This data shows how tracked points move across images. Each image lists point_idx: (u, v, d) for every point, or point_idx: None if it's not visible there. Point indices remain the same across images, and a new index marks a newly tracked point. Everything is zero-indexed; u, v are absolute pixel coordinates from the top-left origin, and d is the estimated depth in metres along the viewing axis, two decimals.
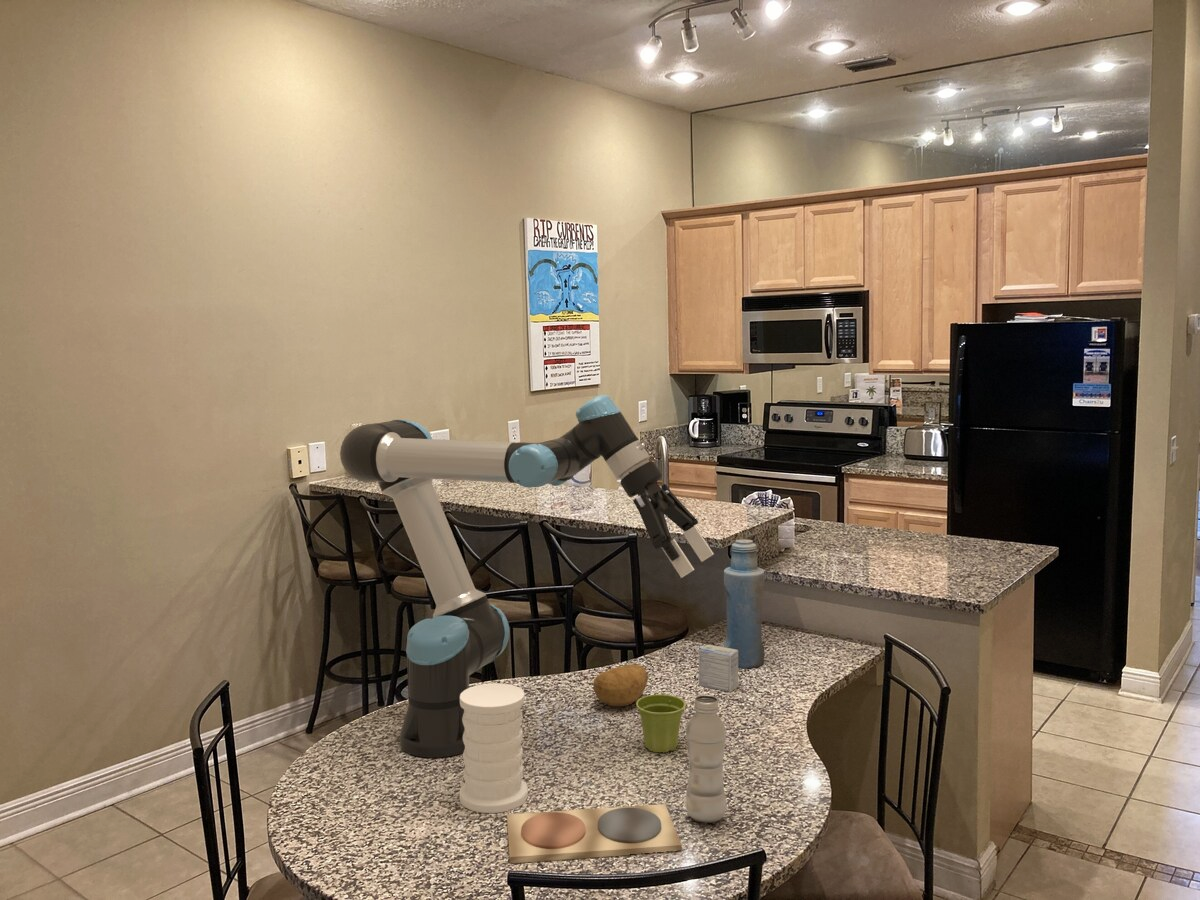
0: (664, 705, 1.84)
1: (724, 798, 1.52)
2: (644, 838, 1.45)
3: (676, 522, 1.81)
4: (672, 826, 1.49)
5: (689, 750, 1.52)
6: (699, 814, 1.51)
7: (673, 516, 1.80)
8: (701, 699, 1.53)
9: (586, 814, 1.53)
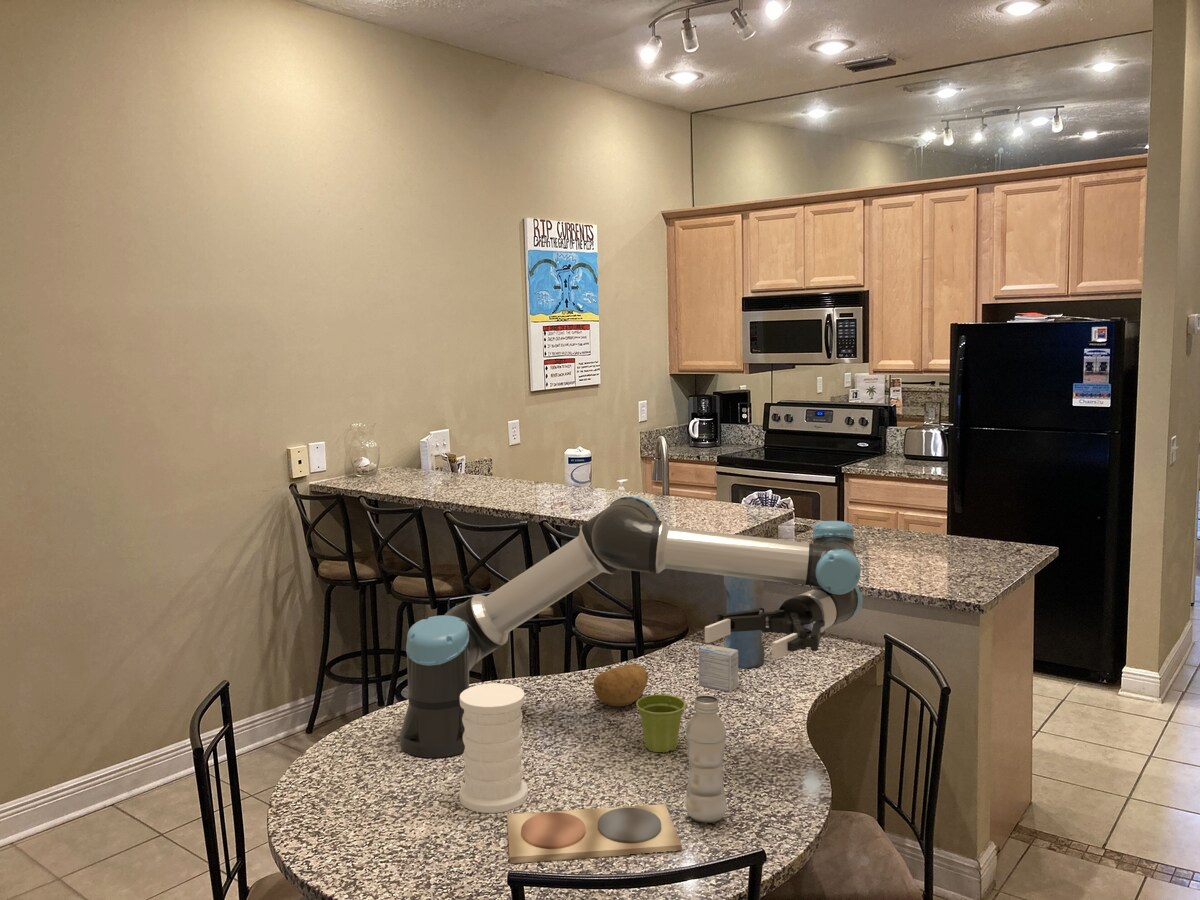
0: (664, 705, 1.84)
1: (724, 798, 1.52)
2: (644, 838, 1.45)
3: (742, 620, 1.68)
4: (672, 826, 1.49)
5: (689, 750, 1.52)
6: (699, 814, 1.51)
7: (751, 622, 1.68)
8: (701, 699, 1.53)
9: (586, 814, 1.53)
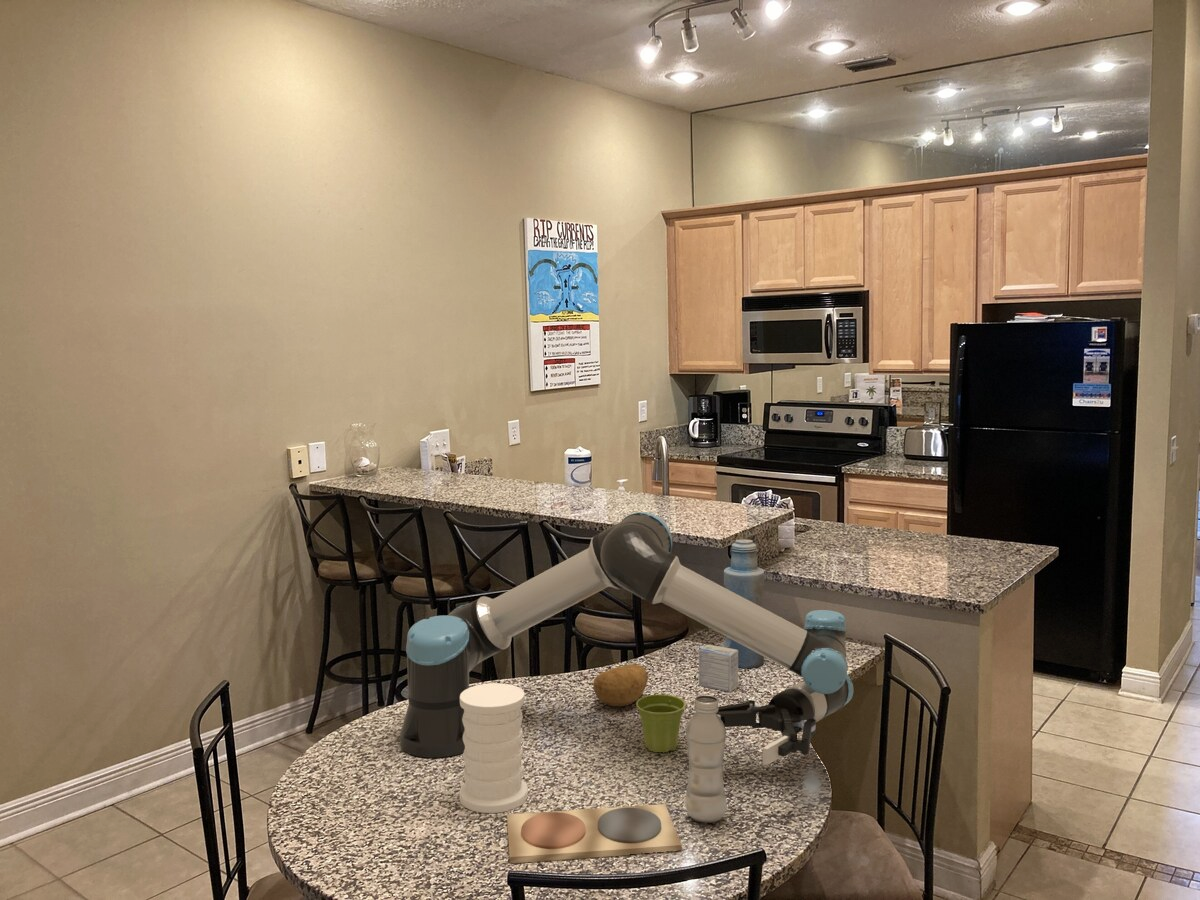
0: (664, 705, 1.84)
1: (724, 798, 1.52)
2: (644, 838, 1.45)
3: (733, 715, 1.67)
4: (672, 826, 1.49)
5: (689, 750, 1.52)
6: (699, 814, 1.51)
7: (741, 718, 1.67)
8: (701, 699, 1.53)
9: (586, 814, 1.53)
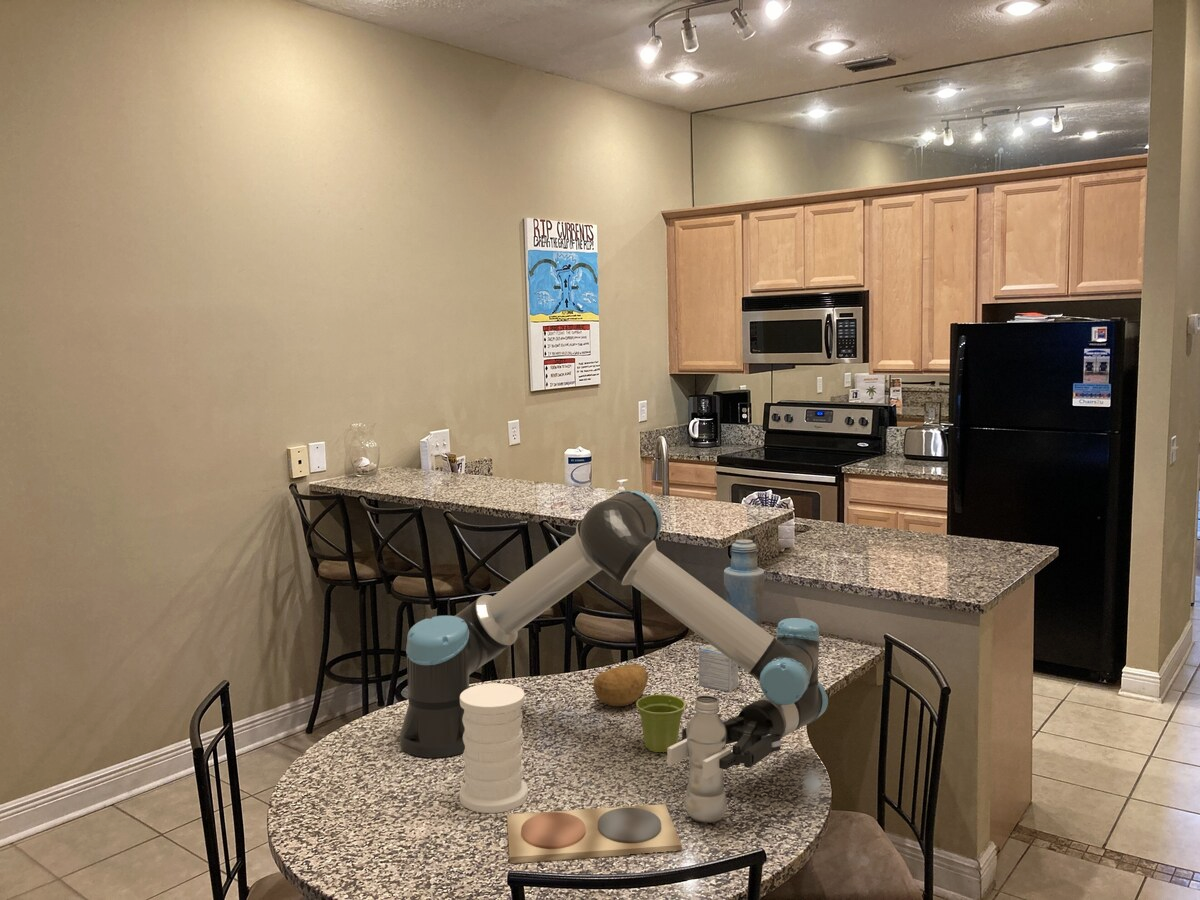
0: (664, 705, 1.84)
1: (724, 798, 1.52)
2: (644, 838, 1.45)
3: None
4: (672, 826, 1.49)
5: (689, 750, 1.52)
6: (699, 814, 1.51)
7: None
8: (702, 699, 1.53)
9: (586, 814, 1.53)
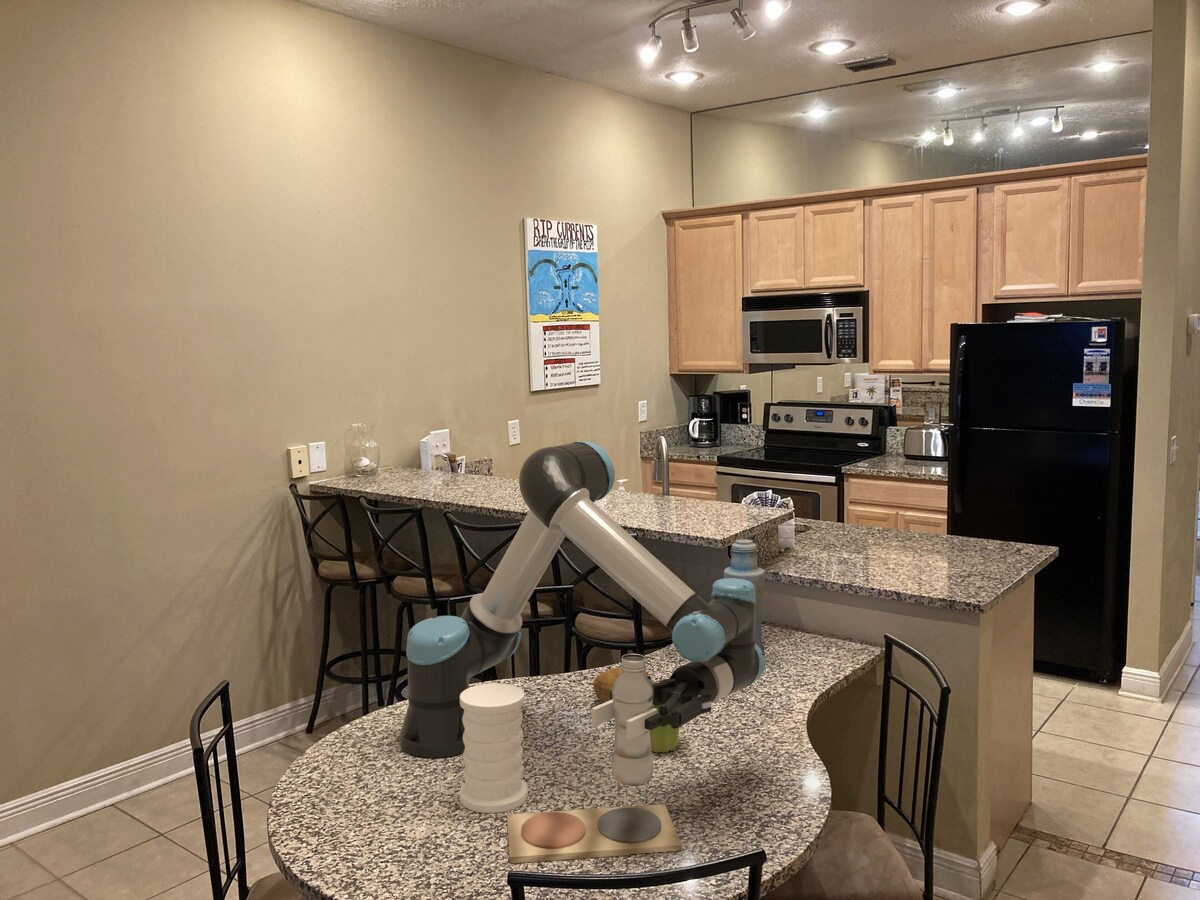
0: None
1: (651, 761, 1.46)
2: (644, 838, 1.45)
3: None
4: (672, 826, 1.49)
5: (615, 711, 1.45)
6: (624, 777, 1.45)
7: None
8: (629, 658, 1.47)
9: (586, 814, 1.53)
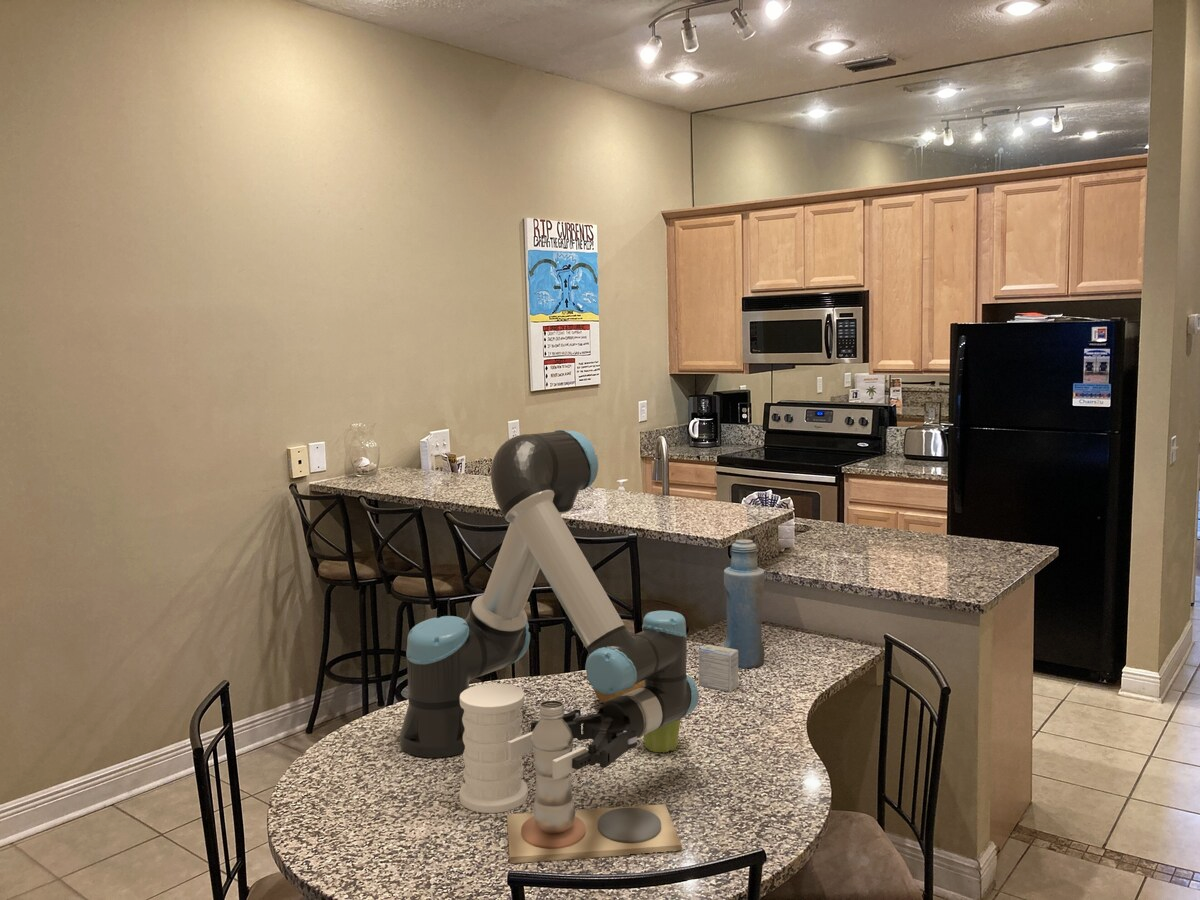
0: None
1: (572, 807, 1.46)
2: (644, 838, 1.45)
3: None
4: (672, 826, 1.49)
5: (534, 758, 1.46)
6: (544, 824, 1.45)
7: None
8: (548, 704, 1.47)
9: (586, 814, 1.53)
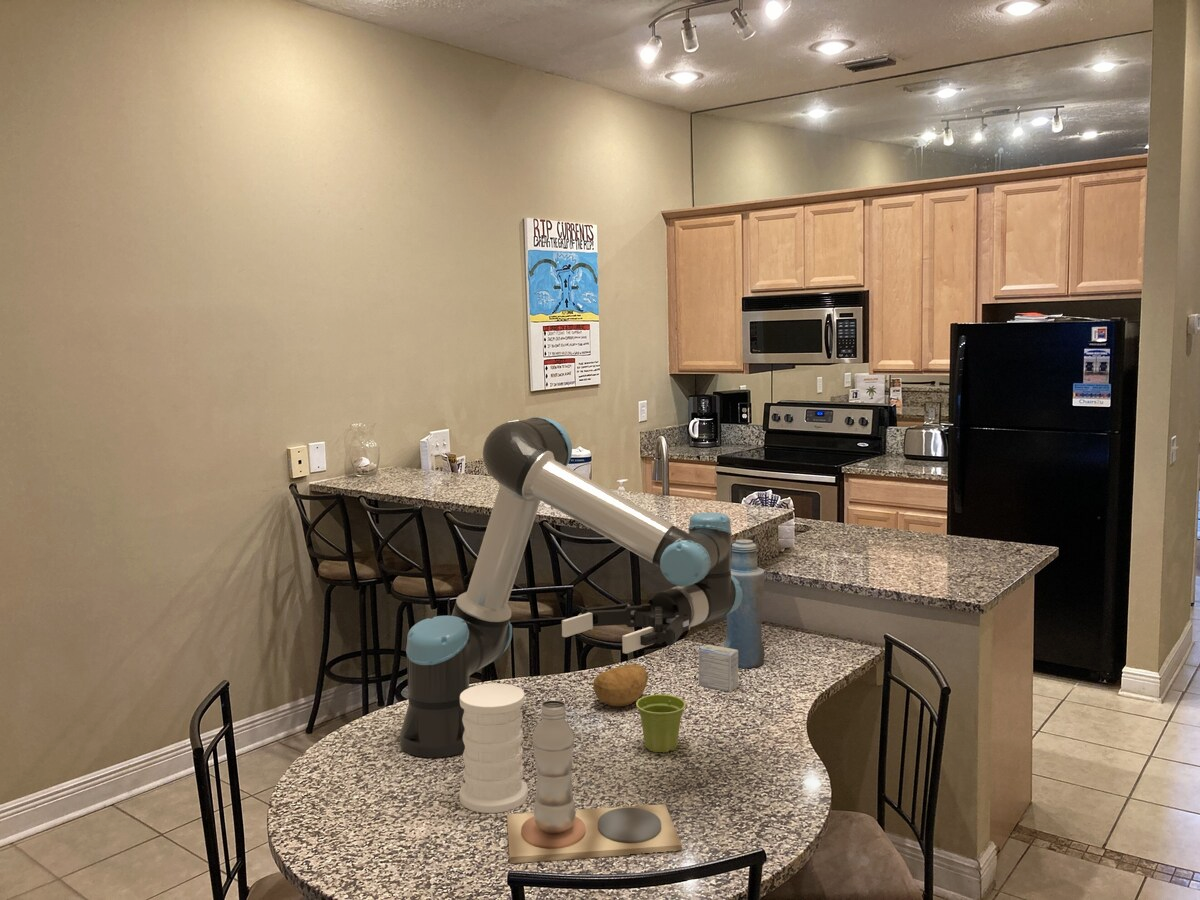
0: (664, 705, 1.84)
1: (572, 807, 1.46)
2: (644, 838, 1.45)
3: (606, 614, 1.62)
4: (672, 826, 1.49)
5: (535, 757, 1.46)
6: (545, 824, 1.45)
7: (615, 616, 1.62)
8: (549, 704, 1.47)
9: (586, 814, 1.53)
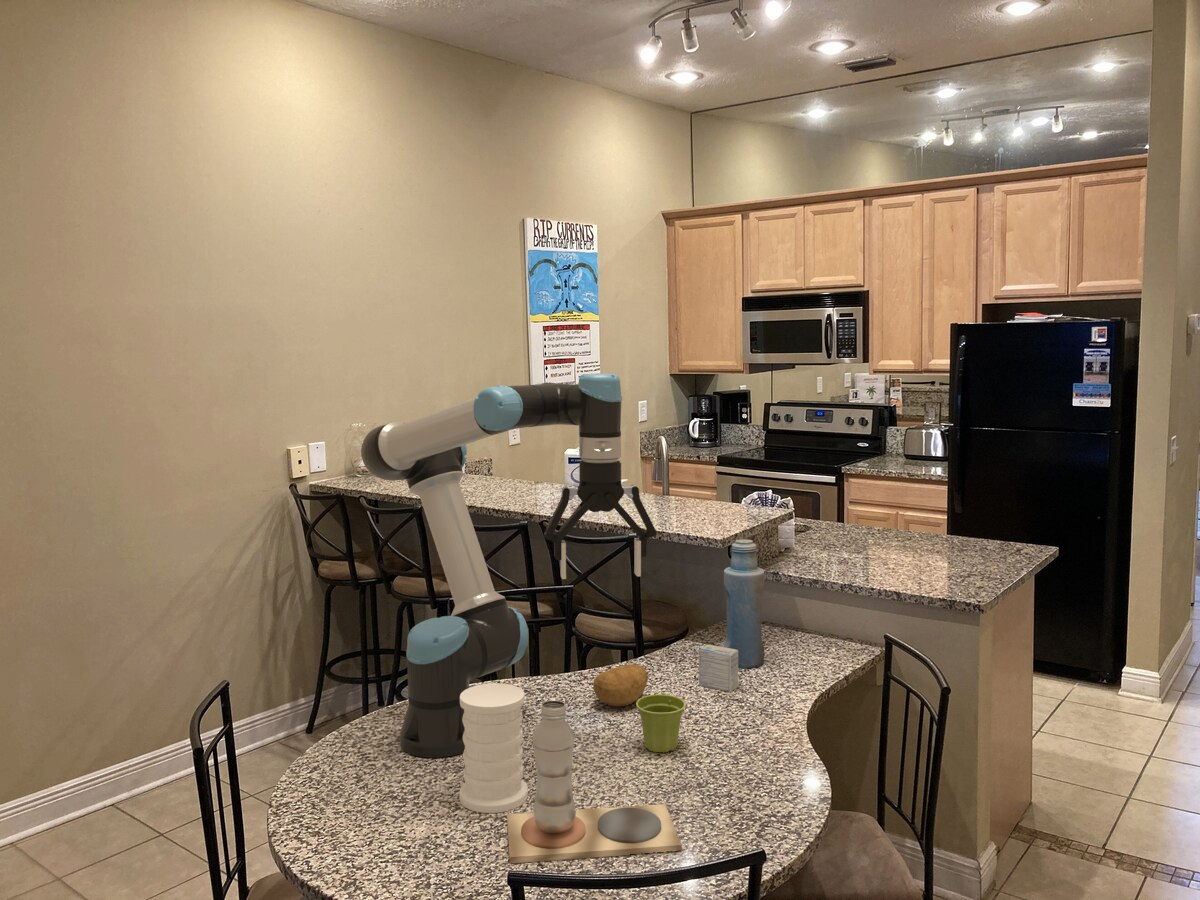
0: (664, 705, 1.84)
1: (572, 808, 1.46)
2: (644, 838, 1.45)
3: None
4: (672, 826, 1.49)
5: (535, 758, 1.46)
6: (545, 824, 1.45)
7: None
8: (549, 704, 1.47)
9: (586, 814, 1.53)
